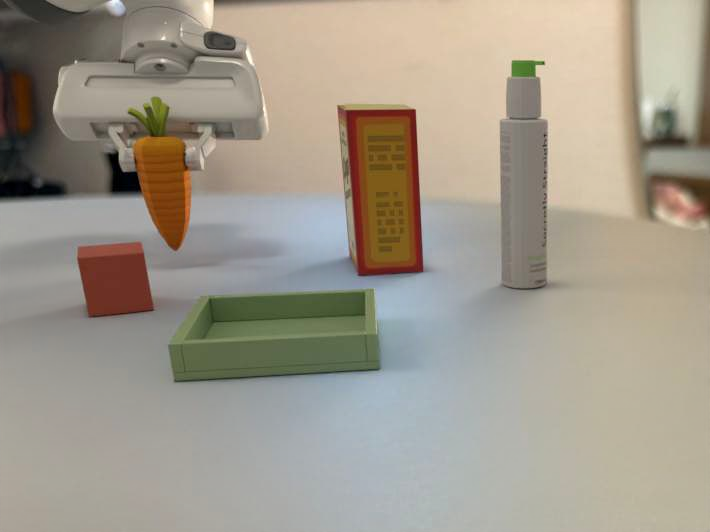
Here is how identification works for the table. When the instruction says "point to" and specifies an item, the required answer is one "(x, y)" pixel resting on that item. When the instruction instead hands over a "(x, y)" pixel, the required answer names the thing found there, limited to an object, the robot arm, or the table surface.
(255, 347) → the green tray
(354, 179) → the baking soda box
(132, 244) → the terracotta block
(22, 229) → the table surface
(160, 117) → the carrot
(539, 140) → the bottle
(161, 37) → the robot arm
